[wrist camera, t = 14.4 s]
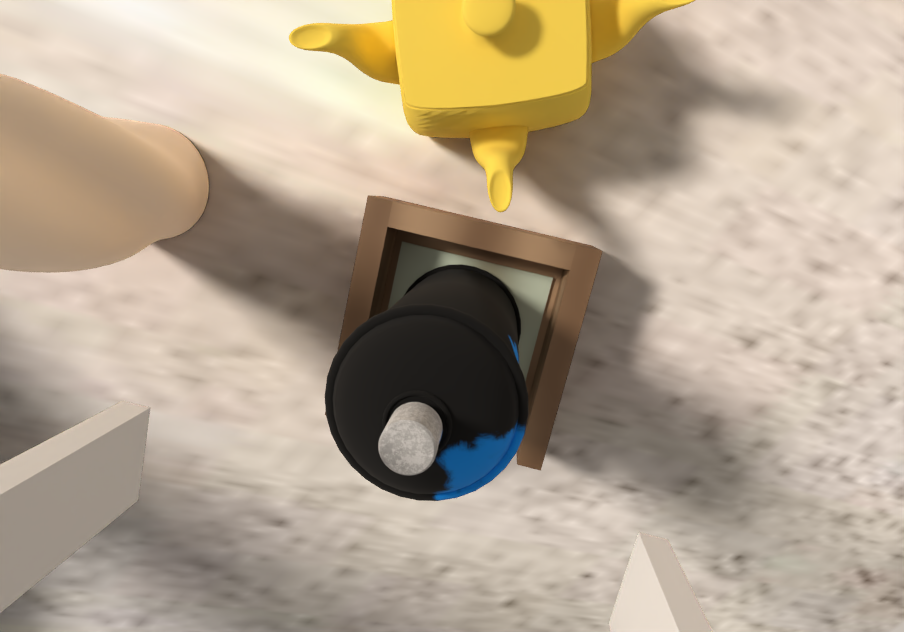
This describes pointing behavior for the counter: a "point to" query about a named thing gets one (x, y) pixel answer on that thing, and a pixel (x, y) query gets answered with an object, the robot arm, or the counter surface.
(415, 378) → the aerosol can
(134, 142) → the water bottle
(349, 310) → the u rest
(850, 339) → the counter surface
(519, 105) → the teapot
